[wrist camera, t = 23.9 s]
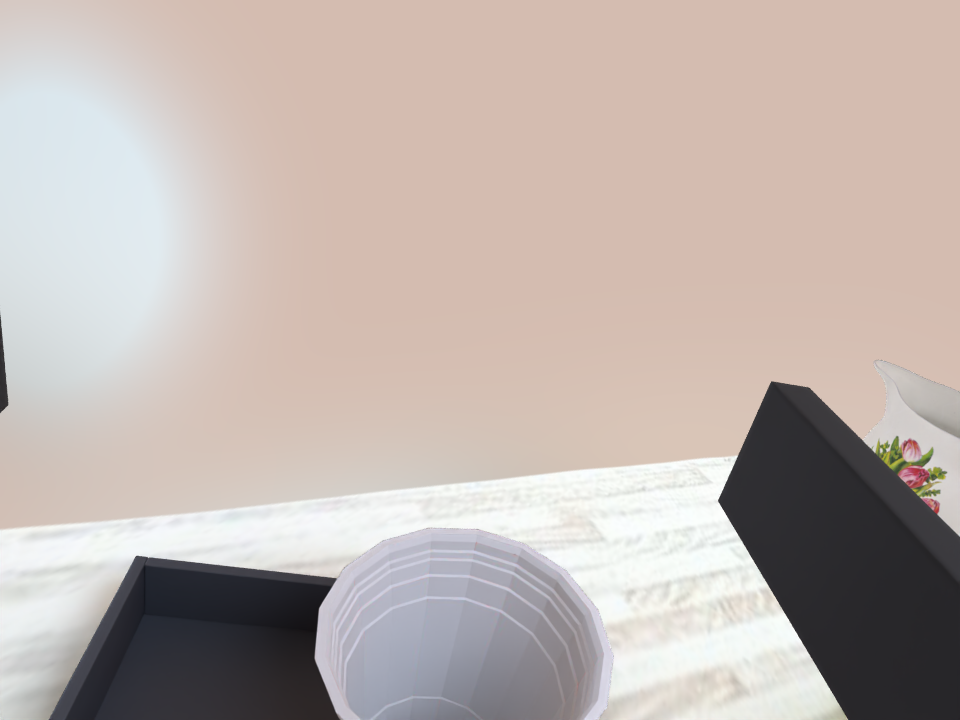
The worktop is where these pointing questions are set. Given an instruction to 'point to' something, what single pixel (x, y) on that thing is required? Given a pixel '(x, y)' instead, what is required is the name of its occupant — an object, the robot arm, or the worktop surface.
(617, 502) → the worktop surface
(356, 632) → the plastic cup
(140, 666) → the dark grey tray
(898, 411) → the pitcher
